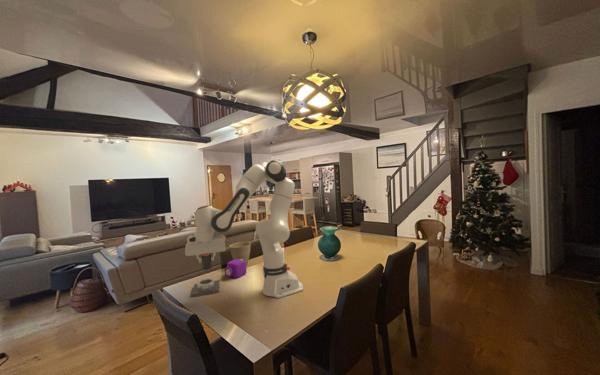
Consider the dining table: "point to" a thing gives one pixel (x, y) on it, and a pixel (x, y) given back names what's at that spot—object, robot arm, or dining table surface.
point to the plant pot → (240, 251)
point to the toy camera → (235, 268)
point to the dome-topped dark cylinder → (206, 261)
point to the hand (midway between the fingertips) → (206, 261)
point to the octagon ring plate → (205, 287)
